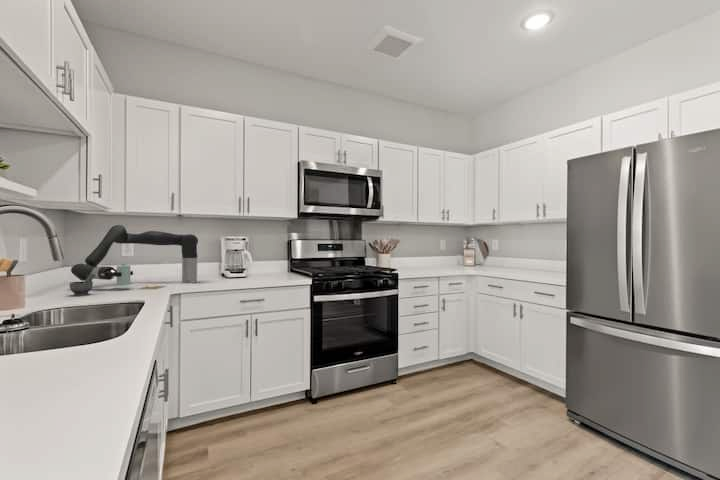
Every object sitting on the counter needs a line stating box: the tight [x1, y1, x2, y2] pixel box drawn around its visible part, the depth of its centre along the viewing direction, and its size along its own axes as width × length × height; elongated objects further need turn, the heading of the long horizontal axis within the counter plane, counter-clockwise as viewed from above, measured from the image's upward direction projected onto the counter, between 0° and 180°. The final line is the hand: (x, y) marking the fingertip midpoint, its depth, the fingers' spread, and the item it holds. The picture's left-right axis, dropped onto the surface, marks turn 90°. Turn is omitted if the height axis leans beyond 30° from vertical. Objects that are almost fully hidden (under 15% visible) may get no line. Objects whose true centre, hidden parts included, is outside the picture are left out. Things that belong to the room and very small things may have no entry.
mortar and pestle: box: [69, 273, 96, 297], centre depth 183 cm, size 11×9×12 cm
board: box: [138, 285, 167, 290], centre depth 206 cm, size 13×11×1 cm
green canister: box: [116, 263, 131, 287], centre depth 197 cm, size 6×6×12 cm
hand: (126, 273), depth 197 cm, fingers closed on green canister, 6 cm apart
